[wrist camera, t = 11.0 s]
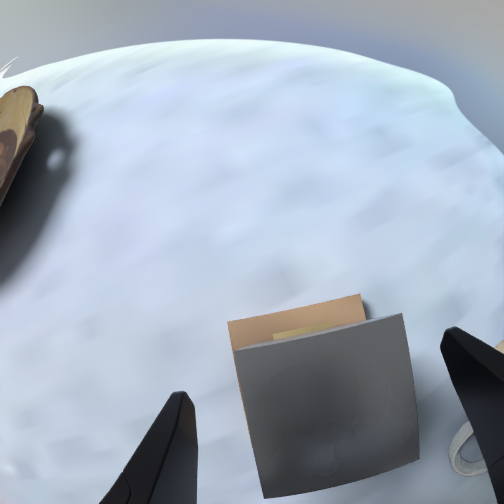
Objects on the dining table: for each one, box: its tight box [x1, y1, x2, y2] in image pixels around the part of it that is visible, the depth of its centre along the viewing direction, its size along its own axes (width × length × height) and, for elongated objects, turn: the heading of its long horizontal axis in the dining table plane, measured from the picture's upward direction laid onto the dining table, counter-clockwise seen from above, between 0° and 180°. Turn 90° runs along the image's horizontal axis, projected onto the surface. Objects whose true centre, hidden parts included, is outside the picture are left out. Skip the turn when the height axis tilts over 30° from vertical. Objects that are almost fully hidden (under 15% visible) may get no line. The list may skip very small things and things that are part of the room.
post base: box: [227, 294, 366, 448], centre depth 15 cm, size 8×8×4 cm
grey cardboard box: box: [234, 313, 420, 499], centre depth 12 cm, size 6×5×9 cm
